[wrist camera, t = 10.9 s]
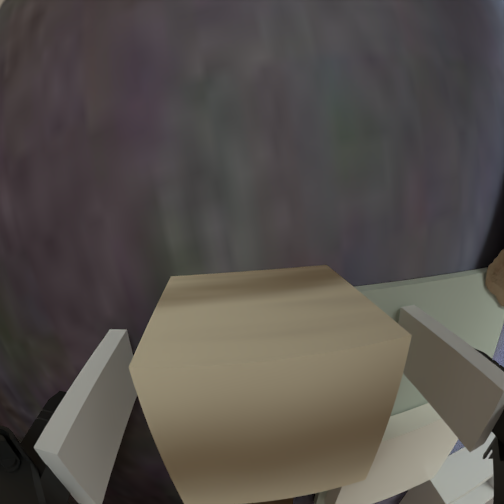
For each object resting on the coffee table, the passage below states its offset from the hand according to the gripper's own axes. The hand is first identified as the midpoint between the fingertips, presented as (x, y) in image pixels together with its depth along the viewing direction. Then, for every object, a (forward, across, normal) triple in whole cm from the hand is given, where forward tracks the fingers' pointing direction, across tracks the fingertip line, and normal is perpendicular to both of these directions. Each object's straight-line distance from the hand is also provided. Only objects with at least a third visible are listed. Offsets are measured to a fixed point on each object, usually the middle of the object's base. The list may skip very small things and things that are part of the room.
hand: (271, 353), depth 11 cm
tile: (-1, +8, -6) cm, 10 cm away
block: (+1, -1, 0) cm, 1 cm away
